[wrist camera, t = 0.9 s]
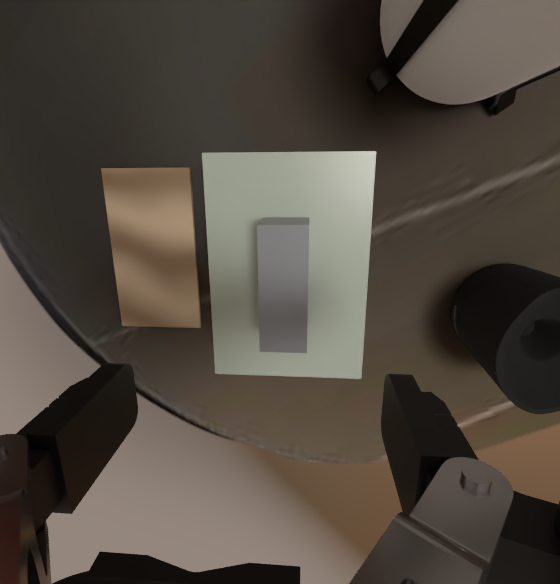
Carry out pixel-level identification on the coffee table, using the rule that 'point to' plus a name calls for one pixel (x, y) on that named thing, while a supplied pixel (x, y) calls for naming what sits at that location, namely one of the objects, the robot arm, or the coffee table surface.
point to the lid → (289, 260)
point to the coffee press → (468, 48)
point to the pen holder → (514, 332)
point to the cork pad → (153, 245)
